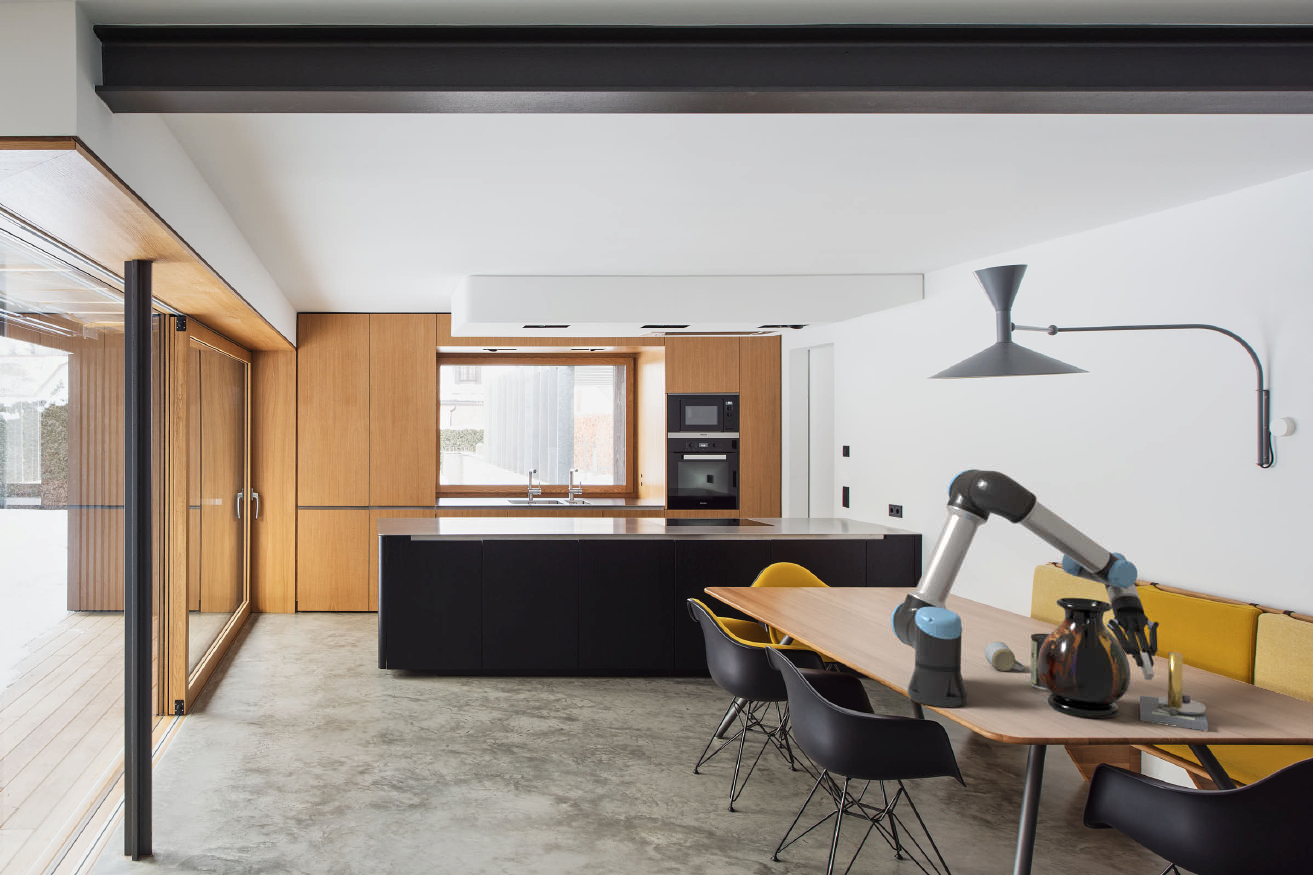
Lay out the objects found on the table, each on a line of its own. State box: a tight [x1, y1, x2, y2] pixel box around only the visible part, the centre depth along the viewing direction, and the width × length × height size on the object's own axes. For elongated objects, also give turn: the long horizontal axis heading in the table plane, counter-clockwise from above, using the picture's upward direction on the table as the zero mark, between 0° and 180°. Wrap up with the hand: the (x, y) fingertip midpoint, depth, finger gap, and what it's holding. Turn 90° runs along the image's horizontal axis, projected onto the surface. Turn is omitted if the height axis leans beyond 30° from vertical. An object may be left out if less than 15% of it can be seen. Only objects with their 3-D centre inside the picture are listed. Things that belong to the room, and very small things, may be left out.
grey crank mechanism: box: [1139, 694, 1209, 732], centre depth 211 cm, size 18×14×4 cm
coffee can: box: [1030, 633, 1051, 692], centre depth 235 cm, size 10×10×14 cm
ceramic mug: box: [984, 640, 1025, 672], centre depth 254 cm, size 11×8×8 cm
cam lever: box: [1158, 651, 1206, 715], centre depth 209 cm, size 10×11×15 cm
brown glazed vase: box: [1038, 597, 1132, 719], centre depth 215 cm, size 22×22×28 cm
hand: (1149, 676), depth 217 cm, fingers closed
